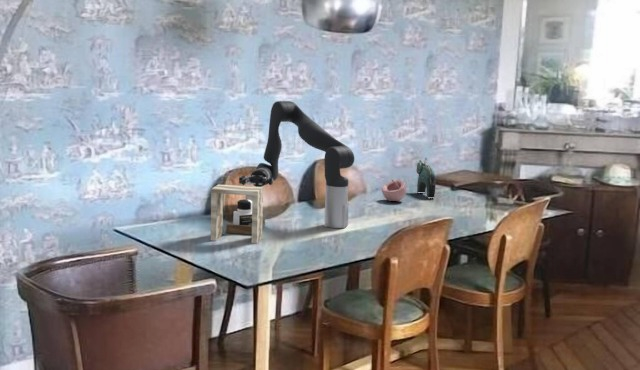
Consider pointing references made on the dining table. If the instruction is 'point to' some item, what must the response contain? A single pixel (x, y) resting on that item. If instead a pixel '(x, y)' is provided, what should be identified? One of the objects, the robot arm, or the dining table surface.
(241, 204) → the medicine bottle
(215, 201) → the bridge
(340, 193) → the robot arm
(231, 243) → the dining table surface
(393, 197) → the mortar and pestle
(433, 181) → the green elephant figurine
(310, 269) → the dining table surface
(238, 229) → the wooden base display case
